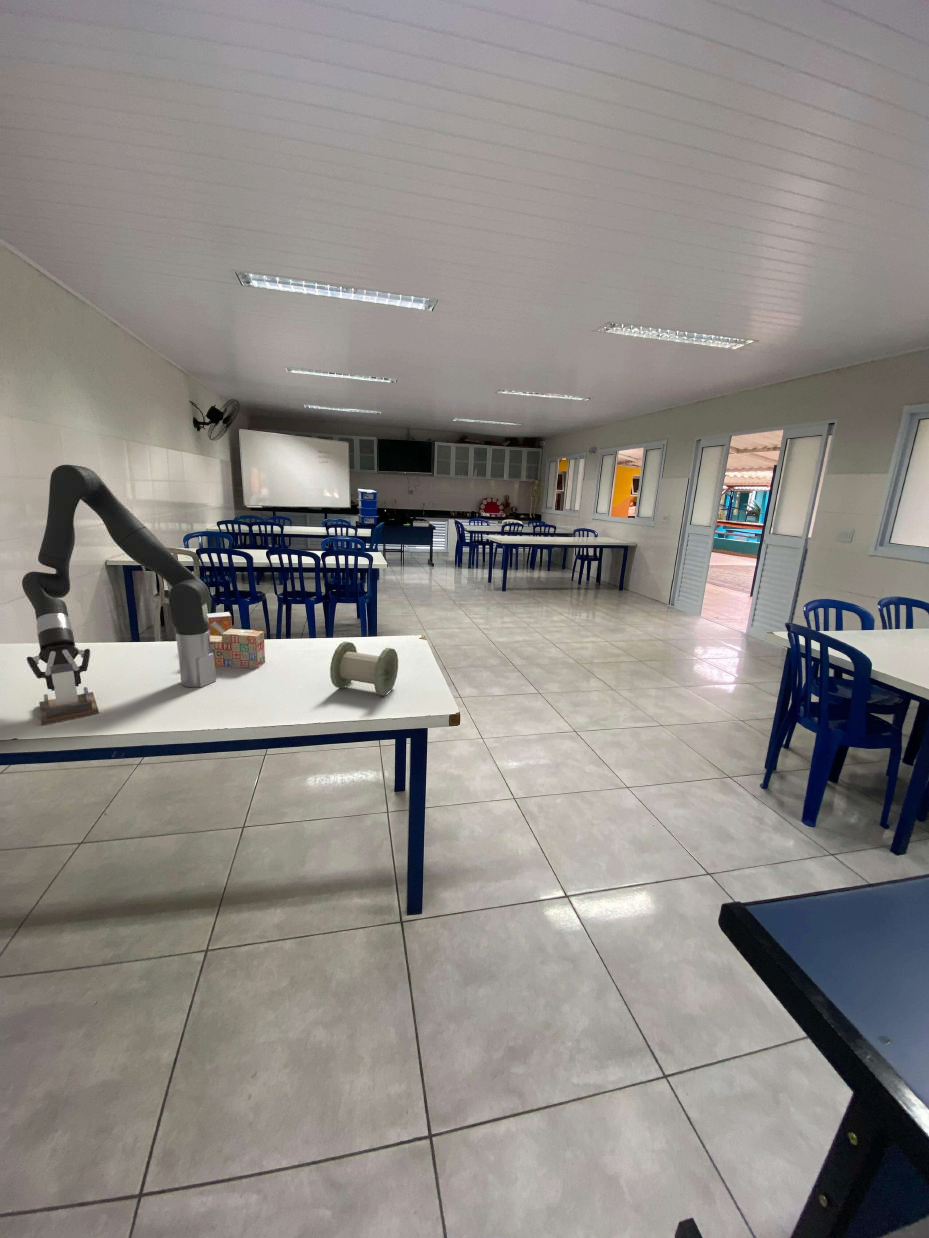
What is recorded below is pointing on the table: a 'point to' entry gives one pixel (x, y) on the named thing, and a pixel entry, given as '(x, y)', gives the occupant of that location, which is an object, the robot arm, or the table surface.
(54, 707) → the holder board
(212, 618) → the small box
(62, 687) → the connector plug
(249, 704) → the table surface
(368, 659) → the spool
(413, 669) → the table surface
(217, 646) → the stack of blocks
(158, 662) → the table surface
